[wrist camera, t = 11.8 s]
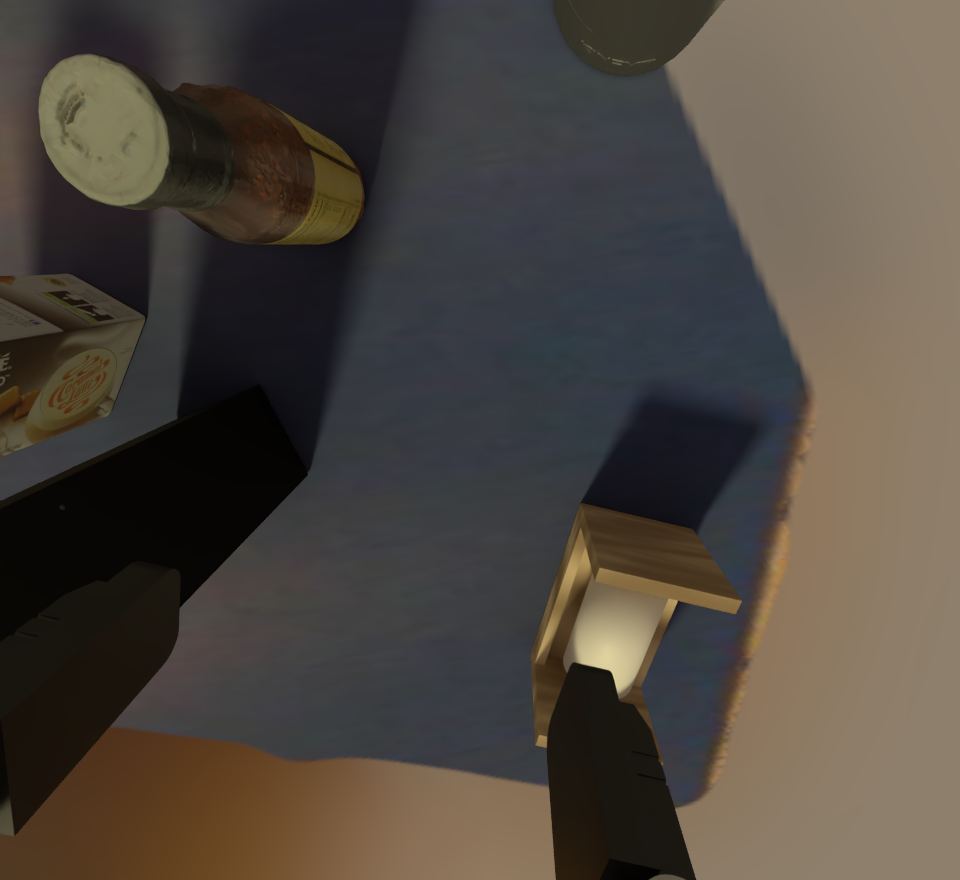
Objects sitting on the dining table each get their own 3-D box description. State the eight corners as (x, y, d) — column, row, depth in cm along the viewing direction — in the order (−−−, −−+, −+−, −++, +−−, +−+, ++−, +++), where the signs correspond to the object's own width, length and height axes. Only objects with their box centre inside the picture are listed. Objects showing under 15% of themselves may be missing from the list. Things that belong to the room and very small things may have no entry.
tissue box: (261, 382, 38) (-309, 653, 12) (310, 474, 40) (-74, 876, 14) (174, 419, 39) (-512, 736, 13) (227, 505, 42) (-269, 927, 15)
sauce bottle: (260, 161, 33) (-66, 28, 14) (348, 125, 32) (120, -67, 13) (302, 263, 35) (61, 262, 16) (386, 232, 34) (233, 194, 15)
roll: (594, 539, 40) (603, 580, 34) (664, 557, 40) (683, 600, 34) (559, 643, 43) (562, 694, 38) (623, 659, 43) (635, 713, 38)
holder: (580, 502, 40) (599, 567, 31) (692, 529, 40) (741, 601, 31) (530, 653, 45) (535, 745, 36) (630, 676, 45) (658, 773, 36)
